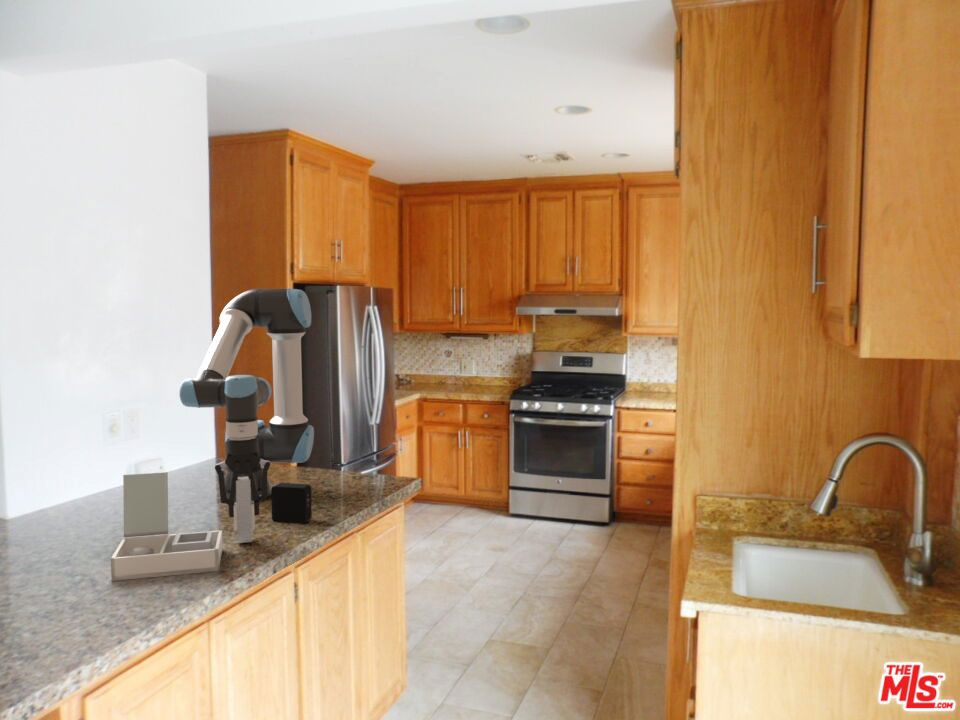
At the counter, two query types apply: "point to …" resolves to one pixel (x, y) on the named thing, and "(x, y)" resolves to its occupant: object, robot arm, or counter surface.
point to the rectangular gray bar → (243, 510)
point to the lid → (145, 504)
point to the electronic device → (291, 503)
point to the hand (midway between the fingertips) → (244, 528)
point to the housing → (167, 555)
